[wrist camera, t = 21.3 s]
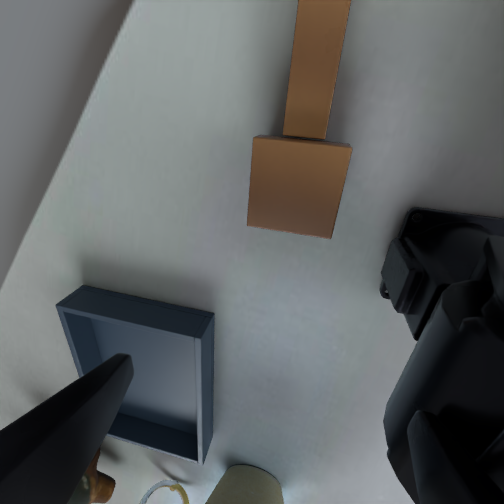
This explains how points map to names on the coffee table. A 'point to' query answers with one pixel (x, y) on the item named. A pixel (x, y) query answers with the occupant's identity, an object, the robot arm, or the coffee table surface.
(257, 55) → the coffee table surface
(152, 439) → the tray
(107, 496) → the decorative turtle
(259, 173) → the brush
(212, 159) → the coffee table surface
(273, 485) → the plant pot
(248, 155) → the coffee table surface
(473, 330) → the robot arm
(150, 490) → the ring
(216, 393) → the coffee table surface
